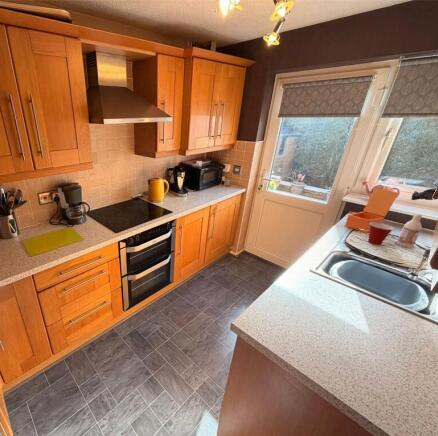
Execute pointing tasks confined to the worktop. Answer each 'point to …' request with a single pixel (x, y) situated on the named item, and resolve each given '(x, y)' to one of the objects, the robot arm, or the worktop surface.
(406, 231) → the bath foam
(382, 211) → the lid
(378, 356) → the worktop surface
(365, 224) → the box
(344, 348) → the worktop surface
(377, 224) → the plastic cup
